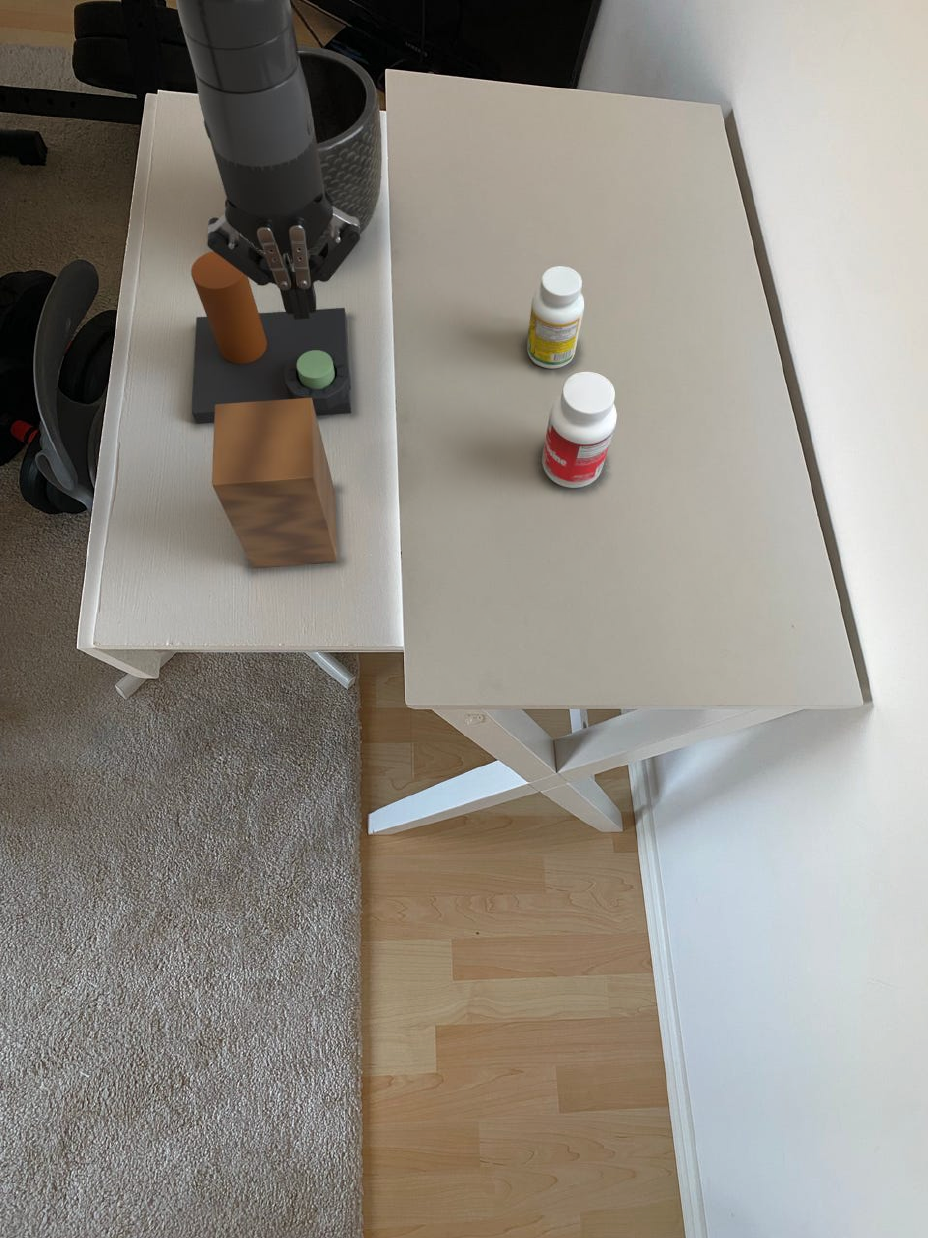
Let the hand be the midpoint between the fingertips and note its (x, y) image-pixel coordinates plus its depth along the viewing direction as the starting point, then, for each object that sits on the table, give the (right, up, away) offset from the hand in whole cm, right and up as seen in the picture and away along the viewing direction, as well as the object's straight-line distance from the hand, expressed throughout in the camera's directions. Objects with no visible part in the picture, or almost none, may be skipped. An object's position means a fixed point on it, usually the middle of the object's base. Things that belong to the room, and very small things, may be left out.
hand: (302, 312), depth 72 cm
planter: (-3, +17, +21) cm, 27 cm away
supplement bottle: (+24, +1, +14) cm, 28 cm away
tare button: (0, -3, +8) cm, 9 cm away
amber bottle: (-9, +1, +11) cm, 14 cm away
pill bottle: (+26, -13, +8) cm, 30 cm away
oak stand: (-2, -19, +4) cm, 20 cm away
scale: (-6, -1, +12) cm, 13 cm away
